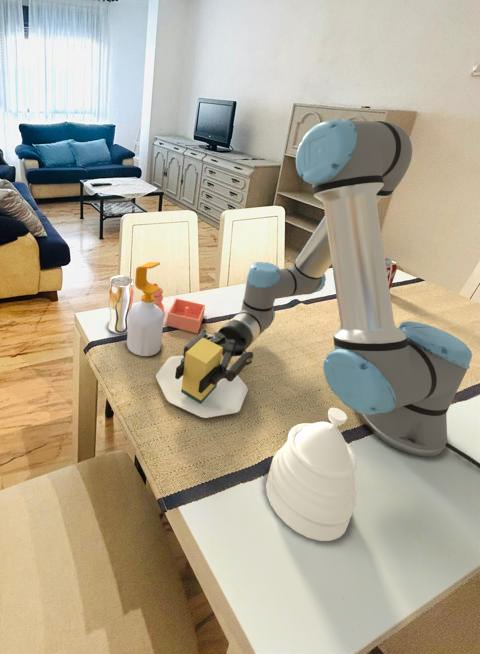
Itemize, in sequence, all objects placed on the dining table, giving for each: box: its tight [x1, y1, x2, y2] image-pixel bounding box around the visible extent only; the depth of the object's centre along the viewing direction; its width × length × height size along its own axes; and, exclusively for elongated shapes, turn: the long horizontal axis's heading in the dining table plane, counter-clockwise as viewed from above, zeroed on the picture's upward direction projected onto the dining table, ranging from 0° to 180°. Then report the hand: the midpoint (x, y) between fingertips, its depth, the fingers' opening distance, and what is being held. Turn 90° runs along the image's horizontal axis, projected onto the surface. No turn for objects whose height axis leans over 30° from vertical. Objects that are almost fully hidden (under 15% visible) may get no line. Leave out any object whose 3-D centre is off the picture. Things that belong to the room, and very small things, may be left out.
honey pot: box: [265, 407, 358, 542], centre depth 62 cm, size 13×13×18 cm
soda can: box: [385, 257, 398, 291], centre depth 137 cm, size 7×7×12 cm
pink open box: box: [151, 283, 206, 334], centre depth 114 cm, size 18×10×10 cm, turn 68°
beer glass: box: [107, 275, 135, 335], centre depth 107 cm, size 7×7×15 cm
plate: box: [155, 354, 249, 420], centre depth 89 cm, size 20×20×2 cm
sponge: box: [181, 338, 223, 404], centre depth 84 cm, size 5×7×11 cm
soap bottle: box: [126, 261, 165, 357], centre depth 98 cm, size 9×9×25 cm
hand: (188, 380), depth 80 cm, fingers closed on sponge, 5 cm apart
